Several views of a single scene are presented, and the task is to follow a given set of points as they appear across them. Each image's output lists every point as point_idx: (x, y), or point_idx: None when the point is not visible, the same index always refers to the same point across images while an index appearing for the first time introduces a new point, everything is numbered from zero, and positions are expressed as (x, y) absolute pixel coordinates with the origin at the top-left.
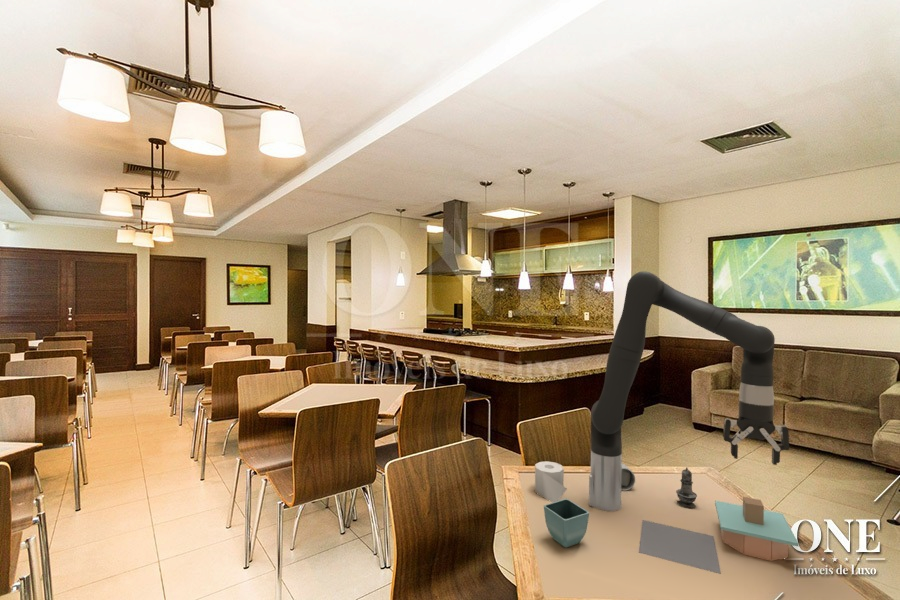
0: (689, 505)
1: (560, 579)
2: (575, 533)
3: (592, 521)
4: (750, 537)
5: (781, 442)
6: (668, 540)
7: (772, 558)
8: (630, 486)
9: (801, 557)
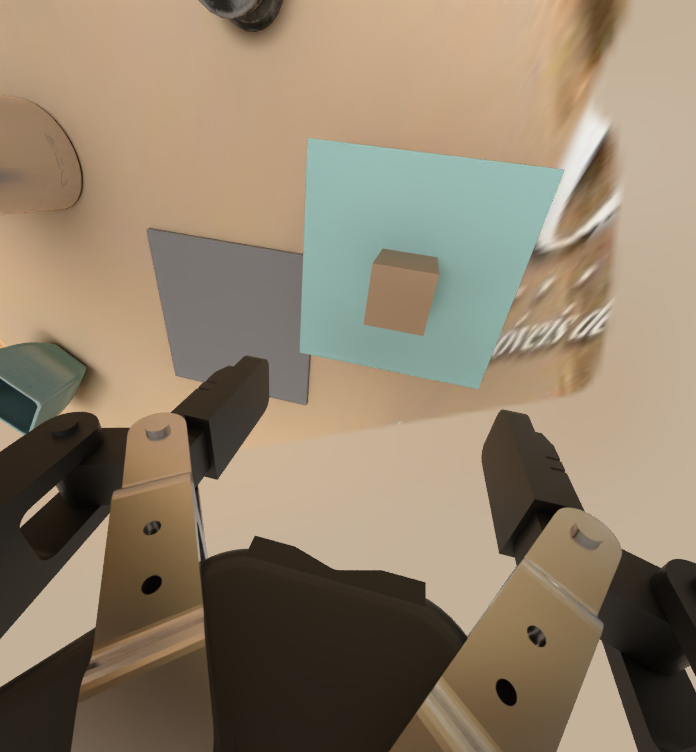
0: (257, 7)
1: None
2: (65, 400)
3: (64, 274)
4: None
5: (679, 633)
6: (216, 317)
7: None
8: None
9: (521, 286)
